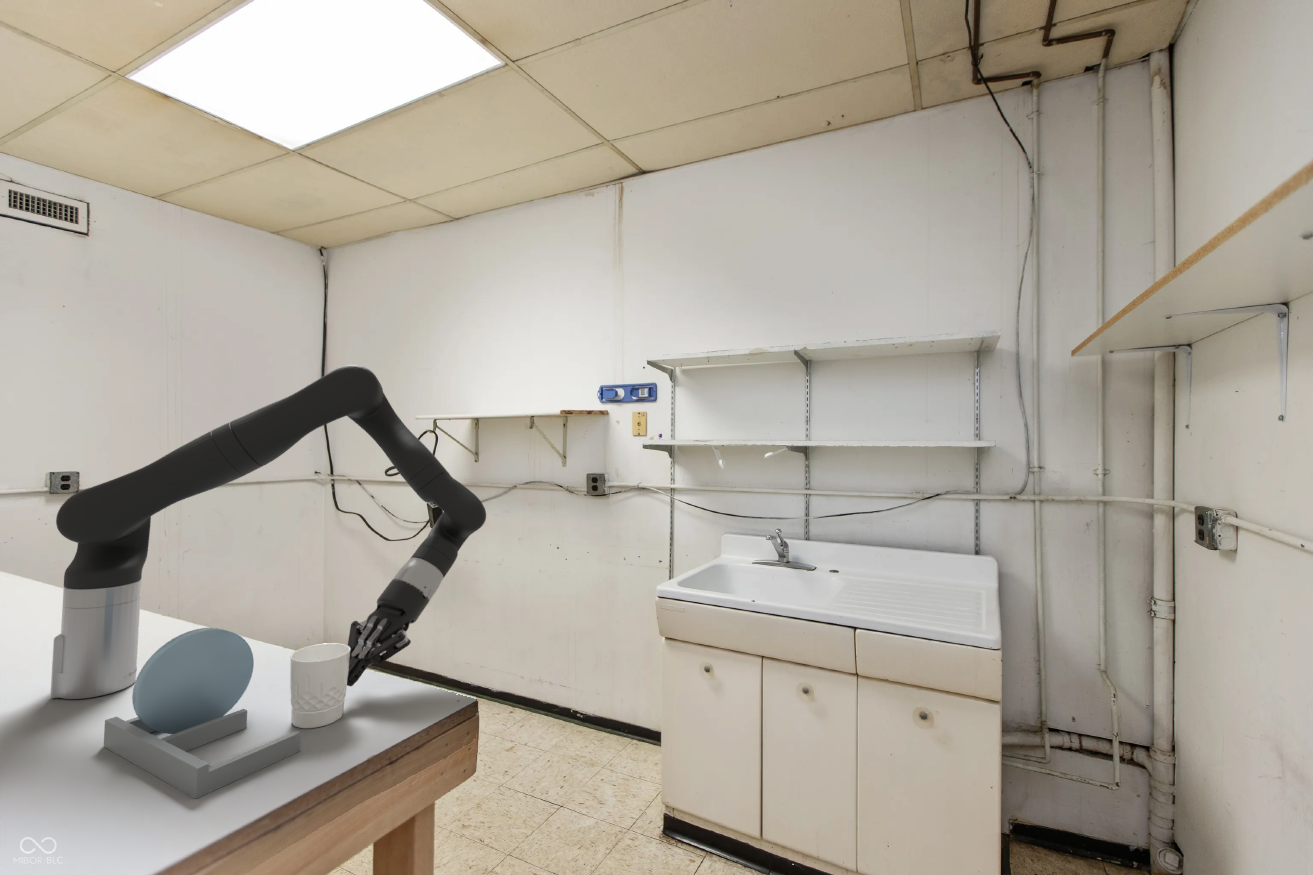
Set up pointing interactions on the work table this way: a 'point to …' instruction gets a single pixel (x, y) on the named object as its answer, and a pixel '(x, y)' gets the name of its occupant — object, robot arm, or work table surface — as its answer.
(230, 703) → the dish rack
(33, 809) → the work table surface
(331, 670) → the white cup
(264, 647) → the work table surface
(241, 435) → the robot arm
